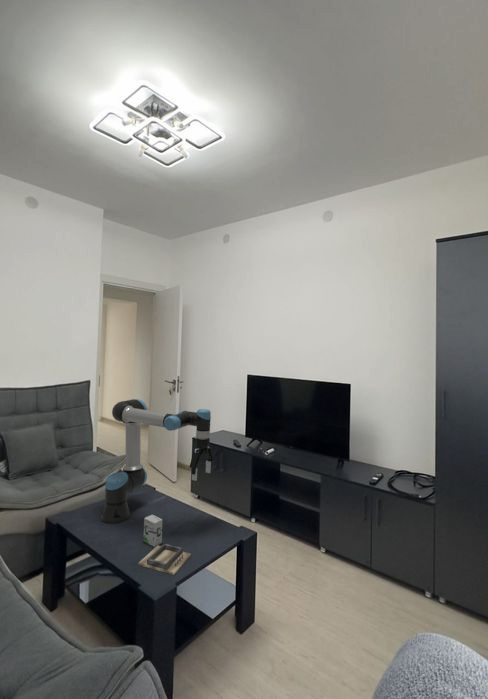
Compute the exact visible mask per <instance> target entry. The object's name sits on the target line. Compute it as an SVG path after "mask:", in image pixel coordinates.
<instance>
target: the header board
mask: <svg viewBox="0 0 488 699" xmlns="http://www.w3.org/2000/svg"><path fill="white" fill-rule="evenodd" d="M191 556H192V553H190V552H185V551H184V548H183V547H180V546H176V545H175V546H174V545H172V544H168V543H163V544H162V545H157V546H155V547H153V549H152V550H151V551H150V552H148V554H146V555H145V557H143V558H142V559H141V560H140V561H139V562H138V566H141V567H144V568H148V569H150V570H155V571H158V572H162V573H166V574H169V575H172V576H175V574H177V572H178V571H179V570H180V569H181V568H182V567H183V566H184V565H185V563H186V562H187V561H188V560H189V559H190V558H191Z"/></svg>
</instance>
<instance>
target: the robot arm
mask: <svg viewBox="0 0 488 699" xmlns="http://www.w3.org/2000/svg"><path fill="white" fill-rule="evenodd" d="M211 414H212V413H211V410H210V409H207V408H204V409H203V408H201V409H197V410H196V412H195V411H189V410H179V412H178V413H175V414H173V413H166V412H160V411H156V410H155V411H154V410H148V407H147V405H146V403H145V402H144V401H143V400H142V399H139V398H135V399H134V398H133V399H128V400H123V401H118V402H117V403H116V404H115V405H114V406H113V407H112V411H111V415H112V418H113V419H114V420H115V421H117V422H120V423H122V424H124V426H125V465H124V466H123V467H122V471H117V472H114V473H111V474H109V475H108V476H107V477H106V479H105V485H104V486H105V491H104V492H105V494H104V495H105V496H104V497H105V498H104V507H103V509H102V512H101V514H100V519H101V521H102V522H104V523H106V522H107V523H108V524H115V523H121V522H124V521H126V520H127V519H129V517H130V513H131V512H130V508H129V506H128V494H130V493H132V492H134V491H136V490H138V489H141V487H143V486H144V485H145V483H146V482H147V479H148V478H147V477H148V474H147V471H146V469H145V468H144V466H143V464H142V463H141V424H142V425H143V424H144V425H147V426H153V427H161V428H164V429H166V430H167V431H170V432H171V431H176V430H179V429H182V428H184V427H187V426H193V427H196V431H195V437H196V438H195V445H196V446H197V448H194V449H193V453H192V457H191V460H190V462H189V463H190V464H189V468H191V480H192V481H197V479H198V468H197V467H198V465H199V462H200V461H201V460H200V459H201V458H202V457H203V456H204V458H206V461H205V473H206V474H211V468H212V467H211V466H212V462H213V460H214V454H213V451H212V444H210V443H211V442H210V441H211V440H210V437H211V419H212V418H211V417H212V416H211Z"/></svg>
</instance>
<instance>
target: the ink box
mask: <svg viewBox="0 0 488 699" xmlns="http://www.w3.org/2000/svg"><path fill="white" fill-rule="evenodd" d="M162 537H163V519H162V518H160V517H159V516H157V515H154V514H150V515H148V516H145V517H144V521H143V537H142V538H143V539H142V540H143V543H146V544H148V545H149V546H152V547H153V548H155V547H156V546H160V544H162V542H163V538H162Z"/></svg>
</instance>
